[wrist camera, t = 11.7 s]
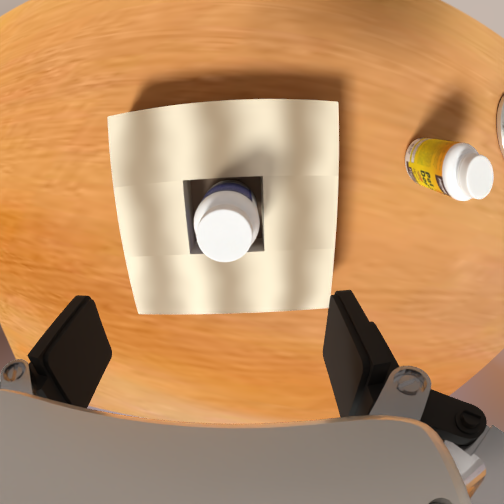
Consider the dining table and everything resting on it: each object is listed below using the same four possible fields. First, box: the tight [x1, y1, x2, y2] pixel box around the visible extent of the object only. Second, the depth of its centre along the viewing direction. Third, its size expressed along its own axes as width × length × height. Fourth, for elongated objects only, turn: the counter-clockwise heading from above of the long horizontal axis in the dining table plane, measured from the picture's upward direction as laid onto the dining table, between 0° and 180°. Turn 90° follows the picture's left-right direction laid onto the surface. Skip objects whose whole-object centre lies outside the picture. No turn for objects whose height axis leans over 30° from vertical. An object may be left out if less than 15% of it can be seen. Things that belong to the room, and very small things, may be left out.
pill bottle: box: [194, 180, 260, 262], centre depth 24 cm, size 5×5×9 cm
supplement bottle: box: [405, 138, 493, 201], centre depth 23 cm, size 6×6×10 cm
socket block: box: [108, 99, 339, 314], centre depth 27 cm, size 20×20×4 cm
